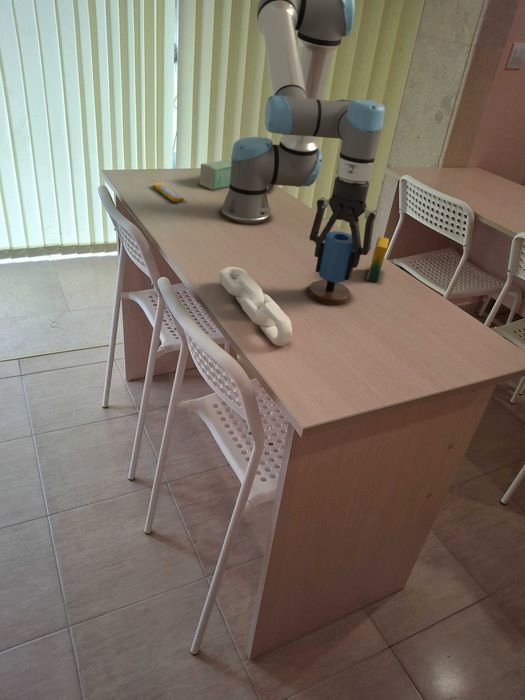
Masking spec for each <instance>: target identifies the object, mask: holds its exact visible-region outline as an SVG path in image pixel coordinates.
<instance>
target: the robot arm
mask: <svg viewBox="0 0 525 700" xmlns="http://www.w3.org/2000/svg"><path fill="white" fill-rule="evenodd" d="M256 11H257V12H256V19H257V27H258V29H259V31H260V33H261V34H262V35H263V39H264V40H263V41H264V46H265V53H266V61H267V67H268V74H269V81H270V88H271V95H270V96H268V98H267V100H266V103H265V108H264V126H265V129H266V130H267V132H268V133H272V134H276V135H277V134H278V135H281V136H280V138H279V143H278V144H274V143H273V140H272V139H271V138H268V137H262V136H247V137H243V138H240V139H237V140H236V141H234V143H233V145H232V150H231V156H230V161H231V173H230V186H229V188H228V191H227V193H226V196H225V199H224V201H223V203H222V206H221V215H222V217H223V218H225V219H226V220H228V221H231V222H234V223H237V224H242V225H260V224H264V223H266V222H268V221H269V220H270V215H271V209H272V207H271V206H270V204H269V200H268V196H267V193H269V192H271V191H272V190H273V189H274V186H283V187H285V186H286V187H296V188H300V187H310V186H312V185H313V184H314V183H315V182H316V181H317V179H318V177H319V175H320V171H321V168H322V160H323V152H322V150H321V148H319V143H318V141H317V140H316V138H326V139H339V140H341V145H340V151H339V156H338V161H337V165H336V166H337V167H336V172H335V174H336V176H335V178H334V183H333V186H332V187H333V188H332V192H331V196H330V198H325V197H320V198H319V199H318V200H317V201H316V213H315V216H314V221H313V224H312V227H311V230H310V234H309V238H308V239H309V241H311V242H314V243H315V249H314V257H315V258H317V261H316V266H315V272H317V273H319V268H320V263H321V258H322V252H323V247H324V241H325V236H326V235H327V234H328V233H329V232H331V230H332V228H333V227H334V225H335V224H336V222H337V221H344V222H346V223H348V224H349V225H348V226H349V228H350V235H352V242H353V249H354V250H353V252H352V254H351V255H350V259H349V264H348V269H347V273H346V278H345V281H347V282H349V280H350V279H351V278H352V275H353V270H354V269H357V267H358V266H359V264H360V260H361V259H360V258H361V256H367V255H368V254H369V252H370V251H371V245H372V238H373V230H374V222H375V219H376V217H377V215H378V211H377V210H375V209H374V210H372V209H370V208H367V204H366V201H367V196H368V192H369V188H370V183H369V181H370V180H371V179H372V174H373V169H374V165H375V160H376V155H377V151H378V146H379V142H380V138H381V134H382V129H383V127H384V122H385V121H384V119H385V114H386V113H385V112H386V108H385V106H384V104H382V103H381V102H378V101H375V100H370V99H362V98H361V99H360V98H355V99H346V98H339V99H337V100H329V99H328V100H326V99H324V96H325V91H326V86H327V83H328V81H327V80H328V77H329V73H330V68H331V64H332V63H331V62H332V59H333V54H334V51H335V50H336V49H338V48H339V47H341V43H342V39H343V38H345V37H348V36H349V35H350V34H351V32H352V30H353V27H354V21H355V13H356V12H355V11H356V0H259V1H258V4H257V10H256ZM298 42H299V43H300V49H299V43H298ZM268 185H269V188H268ZM328 207H330V209H331V212H332V214H331V216H330V217H329V219H328V221H327V223H326V225H325V226H324V228H323V229H322V231H321V233H320V234H319V232H320V229H321V227H322V226H321V225H322V222H323V219H324V215H325V212H326V209H327V208H328ZM363 214H364V219H365V220H366V221H365V225H364V234H363V243H362V239H361V232H360V219H359V217H360V216H361V215H363Z"/></svg>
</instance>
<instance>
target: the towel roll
mask: <svg viewBox="0 0 525 700" xmlns="http://www.w3.org/2000/svg"><path fill="white" fill-rule="evenodd" d="M323 243H324V247H323V252H322V258H321V263H320V268H319V272H318V275H319V277H320V279H322V280H327V281H330V282H338V283H344V282H346V280H345V278H346V273H347V269H348V264H349V259H350V255H351V254H352V252H353V251H354V249H353V242H352V234H351V233H348V232H344V231H336V230H332V231H330V232H329V233H328V234H327V235H326V236H325V240H324V241H323Z"/></svg>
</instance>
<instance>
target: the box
mask: <svg viewBox="0 0 525 700" xmlns="http://www.w3.org/2000/svg"><path fill="white" fill-rule="evenodd" d="M199 172H200V174H199V185H200V186H202V187H204V188H207V189H209V190H212V191H214V190H218V189H223V188H224V189H225V188H228V187H229V186H230V173H231V159H226V160H225V159H223V160H218V161H211V162H205V163H200V171H199Z"/></svg>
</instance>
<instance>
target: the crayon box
mask: <svg viewBox="0 0 525 700" xmlns="http://www.w3.org/2000/svg"><path fill="white" fill-rule="evenodd" d="M380 234H381V229H380V230H379V233H378V236H377V239H376V243H375V247H374V251H373V255H372V259H371V264H370V267H369V270H368V274H367V278H366V280H367V281H370V282H374V283H378V282H379V278H380V275H381V271H382V268H383V264H384V259H385V256H386V253H387V249H388V245H389V242H390V239H389V238H388V237H383V236H380Z"/></svg>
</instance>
